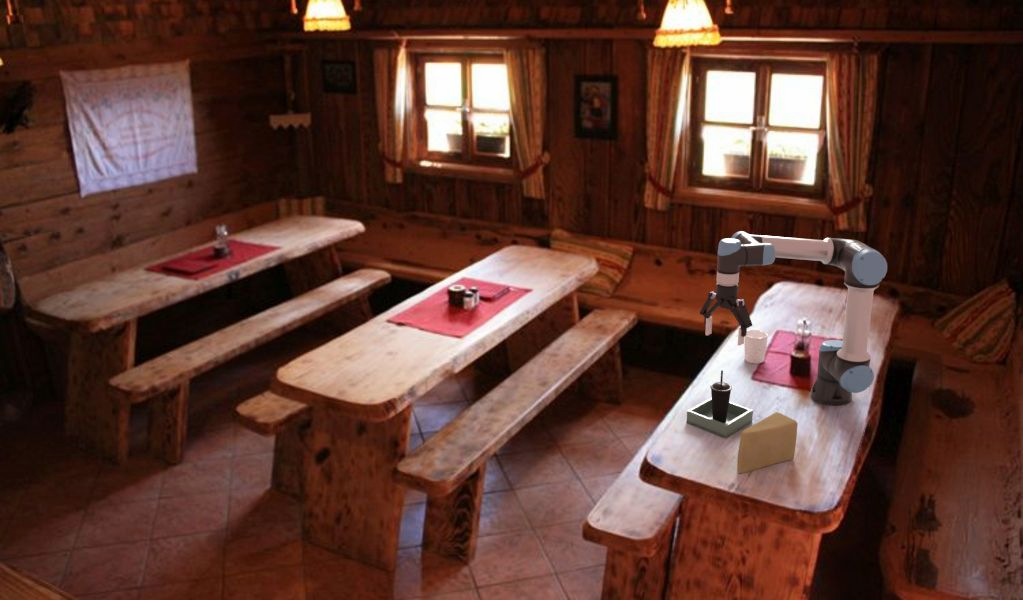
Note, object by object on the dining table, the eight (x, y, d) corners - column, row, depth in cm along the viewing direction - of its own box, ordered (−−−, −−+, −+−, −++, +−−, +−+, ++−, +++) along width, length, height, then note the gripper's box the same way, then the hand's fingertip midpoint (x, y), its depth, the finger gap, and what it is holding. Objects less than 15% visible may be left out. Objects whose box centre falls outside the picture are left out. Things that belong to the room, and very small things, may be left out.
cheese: (749, 479, 290) (752, 439, 284) (727, 467, 297) (729, 427, 292) (795, 460, 300) (799, 420, 295) (773, 448, 308) (776, 409, 303)
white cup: (761, 366, 373) (763, 339, 369) (739, 361, 378) (741, 335, 374) (768, 358, 380) (770, 332, 376) (747, 353, 385) (749, 328, 381)
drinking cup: (713, 413, 332) (716, 364, 325) (733, 418, 327) (736, 369, 321) (705, 421, 326) (707, 372, 319) (725, 426, 322) (728, 376, 315)
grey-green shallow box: (752, 422, 326) (752, 410, 325) (725, 438, 316) (726, 425, 314) (713, 407, 338) (714, 395, 336) (686, 422, 327) (687, 410, 326)
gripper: (764, 288, 302) (760, 345, 309) (704, 272, 319) (701, 327, 327) (752, 293, 297) (748, 351, 305) (691, 277, 315) (689, 333, 322)
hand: (724, 339), depth 316 cm, fingers open, 13 cm apart
